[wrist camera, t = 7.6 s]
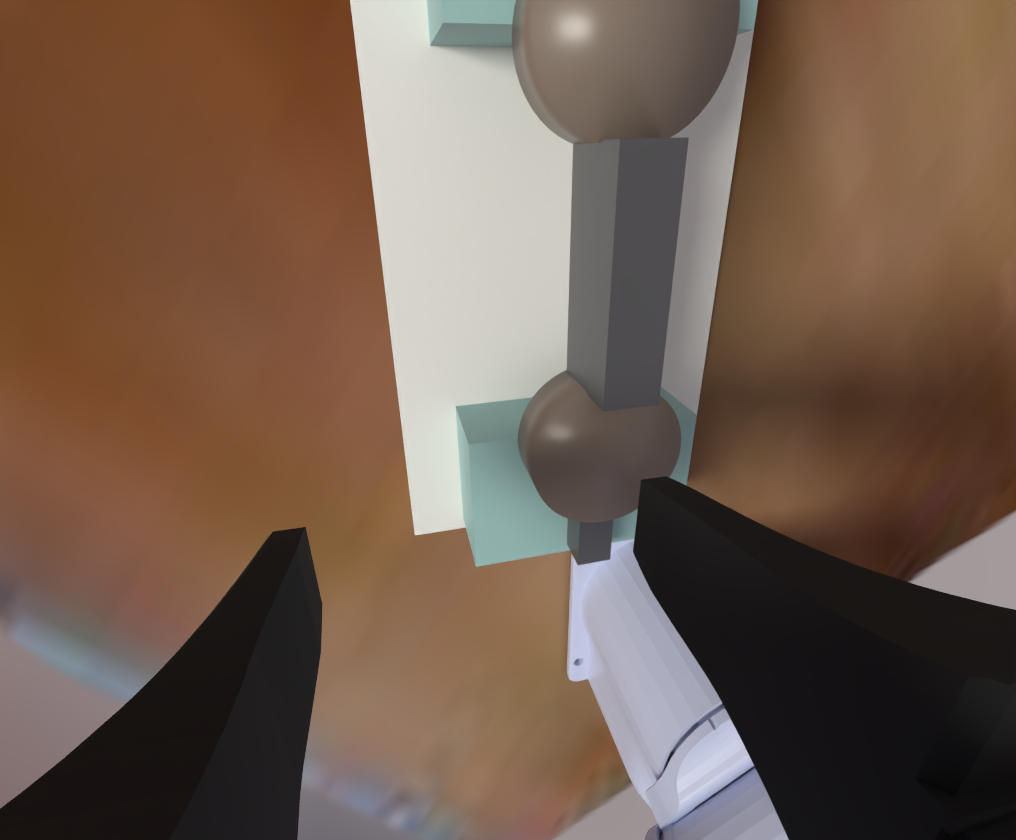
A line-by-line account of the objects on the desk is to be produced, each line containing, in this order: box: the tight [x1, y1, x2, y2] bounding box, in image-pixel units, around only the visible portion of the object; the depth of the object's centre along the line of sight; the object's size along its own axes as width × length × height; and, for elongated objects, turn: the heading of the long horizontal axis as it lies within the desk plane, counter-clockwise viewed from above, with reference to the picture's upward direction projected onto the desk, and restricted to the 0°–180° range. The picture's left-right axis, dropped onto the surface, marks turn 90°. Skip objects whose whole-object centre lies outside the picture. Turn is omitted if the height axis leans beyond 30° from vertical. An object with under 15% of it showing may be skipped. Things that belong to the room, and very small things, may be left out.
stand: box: [350, 0, 758, 567], centre depth 17 cm, size 22×12×4 cm, turn 2°
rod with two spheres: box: [512, 0, 740, 565], centre depth 14 cm, size 20×5×3 cm, turn 1°
